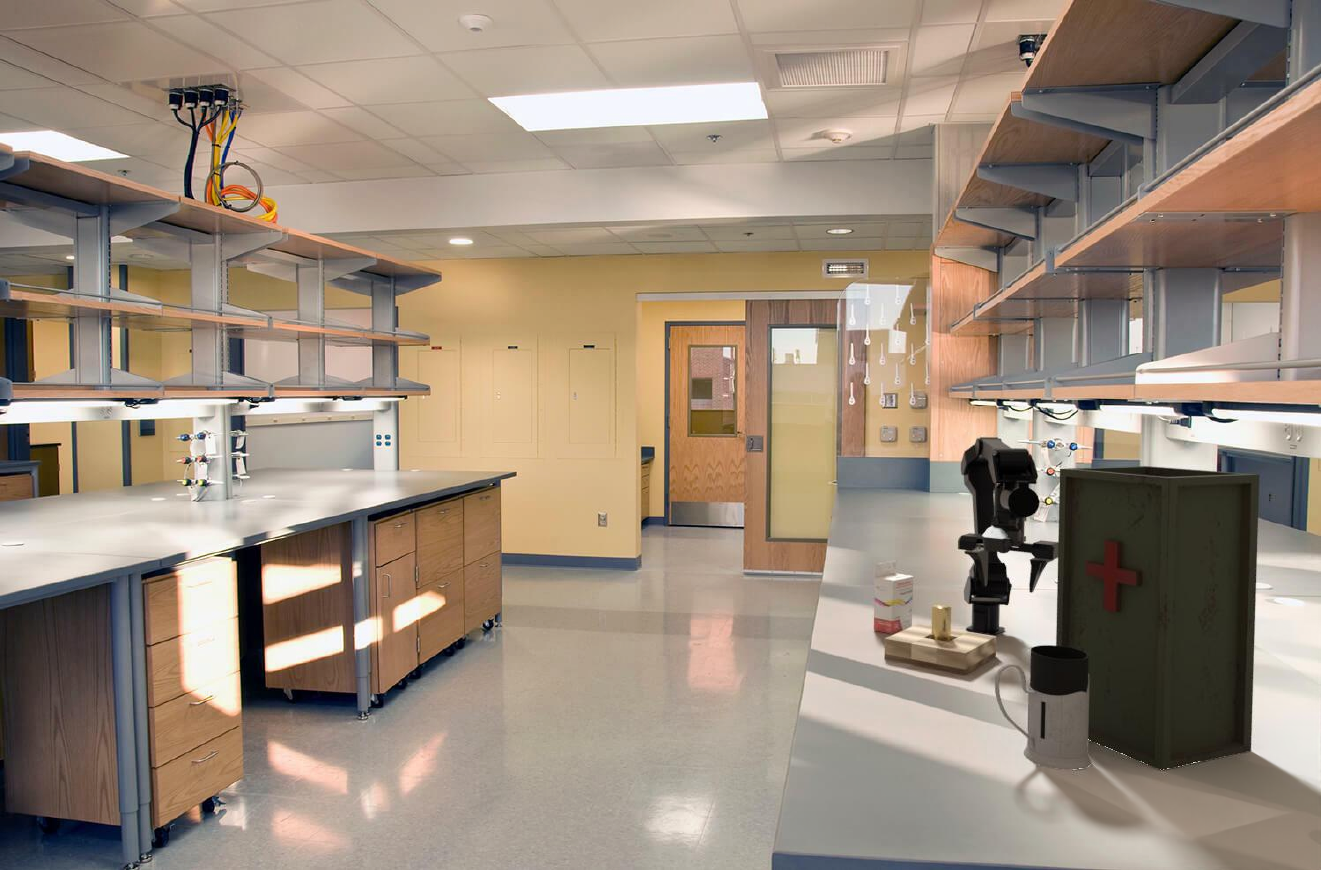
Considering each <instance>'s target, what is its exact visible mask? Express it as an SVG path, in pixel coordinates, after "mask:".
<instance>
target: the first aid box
mask: <svg viewBox="0 0 1321 870" xmlns="http://www.w3.org/2000/svg"><path fill="white" fill-rule="evenodd" d="M1058 493H1059V497H1058V498H1059V499H1058V537H1057V538H1058V541H1057V542H1058V558H1057V587H1056V588H1057V592H1056V627H1055V628H1056V629H1055V630H1056V633H1055V634H1056V637H1055V646H1064V647H1070V648H1074V649H1078V650H1081V651H1084V652H1086V653H1087V654H1088V655H1089V666H1088V673H1089V678H1090V683H1089V725H1088V739H1089V740H1091V741H1093V742H1092V743H1094V742H1095V743H1094V744H1096V743H1098V744H1100V745H1099V746H1101V745H1102V746H1101V747H1103V746H1106V747H1108V748H1111V749H1113V750H1115V751H1117V752H1116V753H1118V752H1119V753H1118V754H1120V753H1123V754H1125V755H1127V756H1129V757H1128V758H1130V757H1131V758H1130V759H1132V758H1133V759H1132V760H1134V759H1135V761H1137V762H1139V761H1142V762H1144V763H1145V765H1146V764H1148V765H1147V766H1149V765H1150V766H1149V767H1151V766H1152V768H1154V769H1156V768H1158V769H1157V770H1159V769H1161V770H1163V769H1167V768H1172V769H1175V768H1174V767H1176V768H1179V767H1178V766H1181V767H1183V766H1182V765H1185V766H1187V765H1186V764H1190V765H1192V764H1191V763H1193V762H1198V761H1203V762H1206V760H1208V761H1211V760H1210V759H1212V760H1216V759H1215V758H1217V759H1221V758H1225V757H1224V756H1226V757H1230V755H1231V756H1234V755H1233V754H1235V755H1238V753H1240V754H1243V753H1247V751H1249V752H1252V737H1253V736H1252V733H1253V732H1252V731H1253V701H1254V671H1255V670H1254V665H1255V664H1254V663H1255V633H1256V632H1255V631H1256V630H1255V629H1256V601H1257V599H1256V598H1257V569H1258V567H1257V566H1258V565H1257V564H1258V561H1257V560H1258V559H1257V558H1258V534H1259V533H1258V532H1259V531H1258V527H1259V504H1260V503H1259V502H1260V501H1259V498H1260V497H1259V496H1260V474H1255V473H1241V472H1231V471H1230V472H1229V471H1228V472H1227V471H1217V470H1203V469H1190V468H1189V469H1188V468H1176V467H1175V468H1174V467H1163V466H1148V465H1143V466H1141V465H1140V466H1139V465H1137V466H1136V465H1135V466H1134V465H1133V466H1105V467H1104V466H1103V467H1102V466H1101V467H1099V466H1098V467H1077V468H1075V467H1073V468H1071V467H1070V468H1059V492H1058ZM1089 740H1088V741H1089ZM1091 741H1090V742H1091ZM1098 744H1097V745H1098ZM1106 747H1105V748H1106ZM1108 748H1107V749H1108ZM1113 750H1112V751H1113ZM1115 751H1114V752H1115ZM1125 755H1124V756H1125ZM1127 756H1126V757H1127ZM1220 757H1221V758H1220ZM1142 762H1141V763H1142ZM1144 763H1143V764H1144ZM1161 770H1160V771H1161ZM1167 770H1168V769H1167ZM1163 771H1164V770H1163Z"/></svg>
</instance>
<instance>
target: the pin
mask: <svg viewBox="0 0 1321 870" xmlns="http://www.w3.org/2000/svg"><path fill="white" fill-rule="evenodd" d="M931 625H932V632H931V639H933V640H939V641H944V642H950V641H951V629H952V607H951V606H949V605H943V604H934V605H932V606H931Z"/></svg>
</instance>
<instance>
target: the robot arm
mask: <svg viewBox="0 0 1321 870" xmlns="http://www.w3.org/2000/svg"><path fill="white" fill-rule="evenodd" d="M960 474H961V475H962V476H963V484H964V486H965V487H966V489H968V491H969V492H970V494H971V496H972V511H973V527H974V533H973V532H970V533H966V534H962V535H960V537H959V538H958V541H957V550H963V553H964V554H965V555H968V556H969V557H970V558H971V559H972V560H973V563H972V565H971V567H970V569H969V570H968V571H969V572H968V573H969V574H968V575H969V576H967V578H966V582H965V585H964V588H963V597H964V598H963V599H964V601H965V602H966V603H967V604H968V605H971V625H969V626H967V627H965V631H967V632H973V633H979V634H985V635H991V636H996V635H998V634H1000V633H1001V632H1003V631H1005V629H1006V627H1004V626H1000V613H1001V611H1000V610H1001V609H1000V606H1003V605H1004V606H1009V604H1010V596H1011V592H1012V591H1011V590H1012V586H1013V584H1012V583H1011V580H1010V578H1009V577H1008V574H1007V565H1006V564H1005V562H1003V561H1001V559H1000V558H999V556H998V553H999V554H1008V553H1009V552H1017V553H1018V552H1019V553H1020V552H1021V553H1025V554H1026V553H1028V554H1031V556H1033V557H1032V558H1031V559H1029V561H1030V562H1029V563H1030V575H1029V584H1028V586H1029V591H1028V592H1029V593H1033V592H1034V591H1035V590H1036V589H1035V588H1036V587H1037V585H1038V581H1039V580H1040V578H1041V576H1042V574H1043V572H1044V570H1045V568H1046V566H1047V565H1048V563H1050V562H1053V561H1055V560H1056V559H1058V541H1051V540H1050V541H1049V540H1038V541H1035V542H1033V543H1030V542H1029V543H1028V542H1027V536H1026V535H1025V528H1026V526H1025V523H1026V522H1027V518H1029V517H1032V516H1034V514H1036V513H1037V511H1038V510H1039V508H1040V505H1041V504H1040V502H1041V501H1040V499H1039V495H1038V494H1037V492H1035V491H1034V490H1033V489H1032V488H1030V485H1037V483H1038V482H1037V480H1038V478H1039V474H1038V469H1037V467H1036V463H1035V459H1033V455H1032V454H1031V453H1030V452H1029V450H1028V448H1023V447H1022V448H1020V447H1019V448H1016V447H1015V448H1013V447H1011V446H1009V445H1008V444H1006V443H1004V442H1003V441H1002V438H999V437H998V436H997V437H996V436H995V437H994V436H993V437H992V436H991V437H989V436H982V437H981V436H980V437H979V438H978V437H977V438H976V439H975V443H974V444H973V445H971V446H970V447H969V448H968V449H966V450H965V451H964V452H963V455H962V458H961V462H960Z"/></svg>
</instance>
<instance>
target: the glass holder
mask: <svg viewBox="0 0 1321 870" xmlns="http://www.w3.org/2000/svg"><path fill="white" fill-rule="evenodd" d="M1029 665H1030V666H1029V667H1030V670H1029V683H1028V688H1027V680H1026V679H1027V678H1026V675H1025V671H1024V670H1023V669H1022V668H1021V667H1020V666H1019V665H1018V664H1015V663H1006V664H1004V665H1002V666H1001V667H1000V668H998V671H997V672H996V673H995V679H994V692H995V698H996V702H997V705H998V706H999V709H1000V712H1001V713H1002V715H1003V717H1004V718H1005V719H1006V720H1007V721H1008V722H1009V723H1010V724H1011V725H1012V726H1013V727H1014V728H1016V729H1017V730H1018V731H1019V732H1020V733H1022V735H1023V736H1025V737H1026V739H1027V742H1026V747H1025V748H1024V750H1023V756H1024V757H1025V758H1026V759H1028V760H1029V761H1031V762H1032V761H1033V762H1032V763H1034V762H1035V763H1034V764H1037V763H1038V764H1037V765H1039V764H1040V766H1042V765H1043V767H1046V768H1050V769H1054V768H1059V769H1058V770H1062V769H1079V768H1085V769H1087V768H1089V767H1090V766H1091V765H1092V759H1091V757H1090V755H1089V740H1088V725H1089V683H1090V678H1089V673H1088V666H1089V655H1088V654H1087V653H1086V652H1084V651H1081V650H1078V649H1074V648H1070V647H1064V646H1056V645H1053V644H1052V645H1048V644H1045V645H1037V646H1036V645H1035V646H1033V647H1031V648H1030V663H1029ZM1012 667H1013V668H1015V669H1017V671H1018V672H1019V674H1020V680H1021V681H1020V682H1021V685H1020V686H1021V689H1022V691H1023V692H1024V693H1026V694H1028V700H1027V701H1028V702H1027V703H1028V704H1027V732H1026V731H1025V730H1024V729H1022V727H1020V726H1019V725H1017V723H1016V722H1015V721H1013V719H1011V717H1010V716H1009V715H1008V713H1007V711H1006V709H1005V707H1004V705H1003V702H1002V698H1001V695H1000V694H1001V692H1000V679H1001V676H1002V674H1003V672H1004V671H1005V670H1007V669H1008V668H1012ZM1027 689H1028V690H1027ZM1090 764H1091V765H1090ZM1089 765H1090V766H1089ZM1088 766H1089V767H1088ZM1086 767H1087V768H1086Z"/></svg>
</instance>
